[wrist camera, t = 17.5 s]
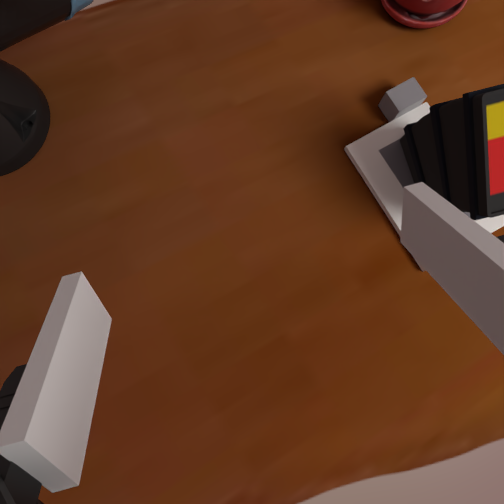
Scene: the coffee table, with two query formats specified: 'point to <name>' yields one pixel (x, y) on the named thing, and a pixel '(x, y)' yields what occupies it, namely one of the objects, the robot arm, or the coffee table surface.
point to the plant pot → (423, 11)
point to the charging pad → (395, 154)
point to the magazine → (461, 151)
